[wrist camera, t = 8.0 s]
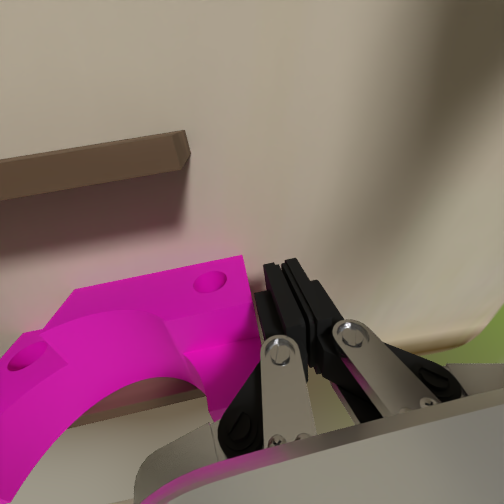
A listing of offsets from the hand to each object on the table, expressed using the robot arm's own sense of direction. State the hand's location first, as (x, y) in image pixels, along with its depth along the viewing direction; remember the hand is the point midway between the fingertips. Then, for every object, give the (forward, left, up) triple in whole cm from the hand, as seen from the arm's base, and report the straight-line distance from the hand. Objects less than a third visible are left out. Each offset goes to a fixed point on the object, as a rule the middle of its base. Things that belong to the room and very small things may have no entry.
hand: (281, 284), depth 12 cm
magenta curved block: (+3, -9, -4) cm, 10 cm away
